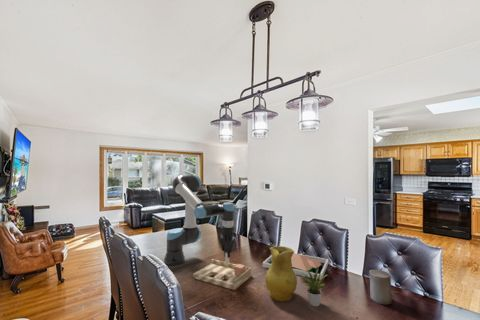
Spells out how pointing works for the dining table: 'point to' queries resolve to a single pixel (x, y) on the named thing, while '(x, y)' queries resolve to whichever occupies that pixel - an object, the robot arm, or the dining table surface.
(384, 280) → the pillar candle
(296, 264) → the house
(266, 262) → the serving tray rim
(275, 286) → the pitcher
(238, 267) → the salmon block
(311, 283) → the house plant
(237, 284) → the cube sorting tray
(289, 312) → the dining table surface
